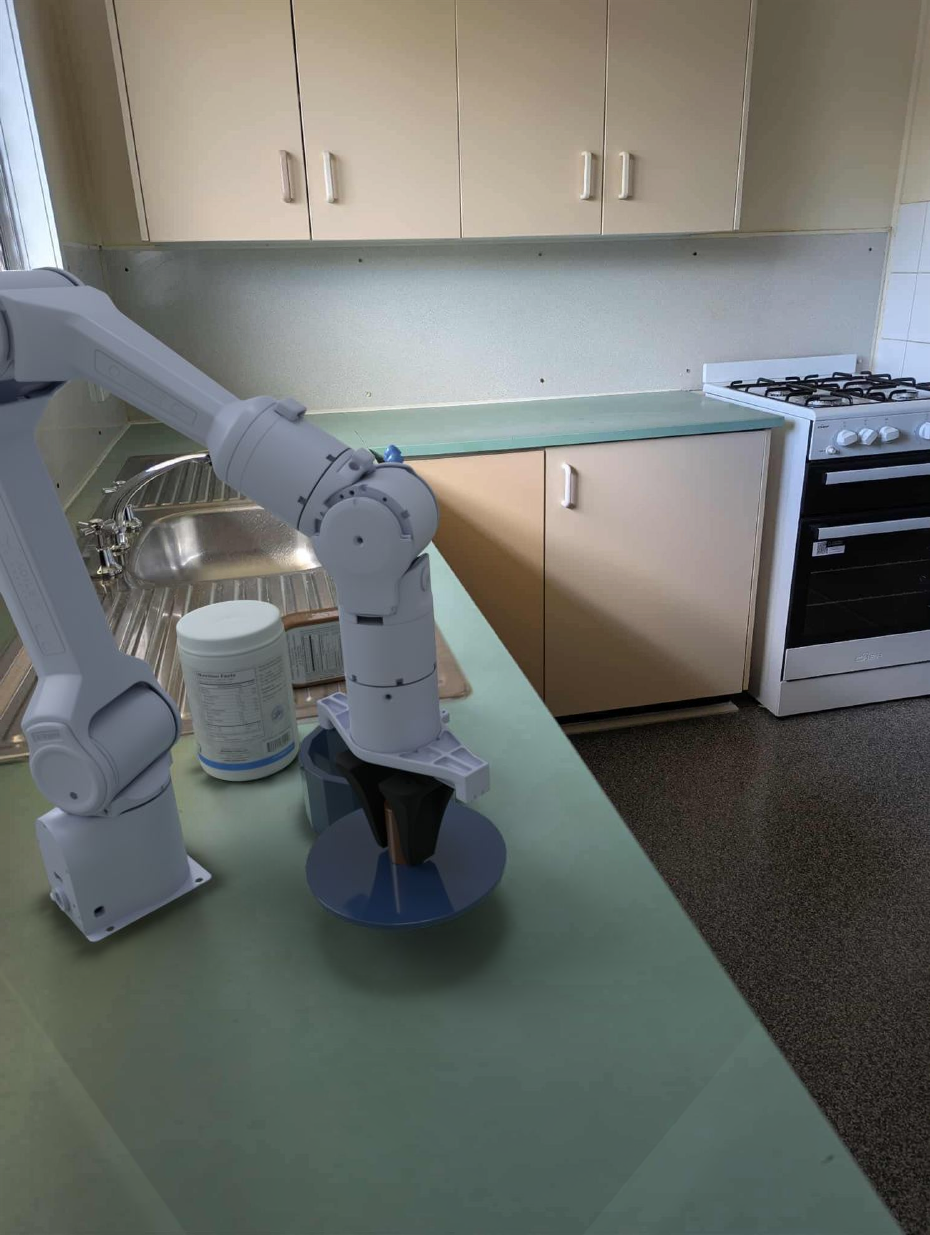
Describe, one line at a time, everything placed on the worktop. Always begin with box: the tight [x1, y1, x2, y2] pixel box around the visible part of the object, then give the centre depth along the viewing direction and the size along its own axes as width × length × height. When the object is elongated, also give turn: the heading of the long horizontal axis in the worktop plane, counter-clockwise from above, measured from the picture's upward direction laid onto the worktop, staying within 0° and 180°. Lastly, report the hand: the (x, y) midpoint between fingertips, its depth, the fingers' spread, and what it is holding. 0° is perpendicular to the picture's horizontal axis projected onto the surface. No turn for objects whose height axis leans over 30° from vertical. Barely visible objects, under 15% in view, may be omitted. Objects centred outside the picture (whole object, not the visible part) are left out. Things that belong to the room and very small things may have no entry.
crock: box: [297, 724, 456, 836], centre depth 74 cm, size 13×13×6 cm
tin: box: [281, 605, 346, 688], centre depth 98 cm, size 15×3×8 cm, turn 109°
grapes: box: [382, 444, 405, 464], centre depth 168 cm, size 12×7×12 cm, turn 13°
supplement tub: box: [175, 599, 300, 782], centre depth 81 cm, size 10×10×15 cm
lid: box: [304, 800, 508, 931], centre depth 59 cm, size 14×14×5 cm
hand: (406, 849), depth 59 cm, fingers closed on lid, 2 cm apart
